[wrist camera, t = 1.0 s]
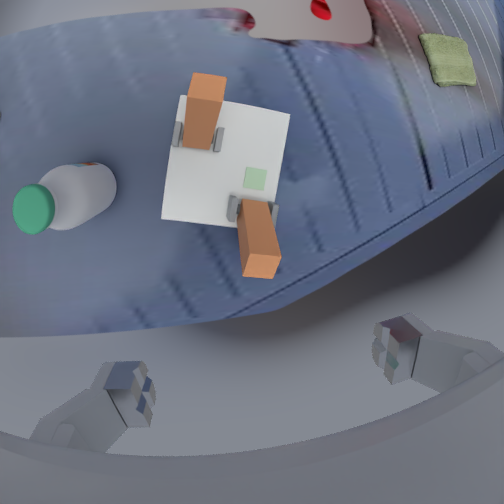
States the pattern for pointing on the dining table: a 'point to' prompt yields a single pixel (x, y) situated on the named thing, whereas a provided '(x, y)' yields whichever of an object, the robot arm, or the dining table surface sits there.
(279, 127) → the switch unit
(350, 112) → the dining table surface
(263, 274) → the lever
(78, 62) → the dining table surface
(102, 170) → the milk bottle
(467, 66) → the washcloth
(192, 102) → the lever
